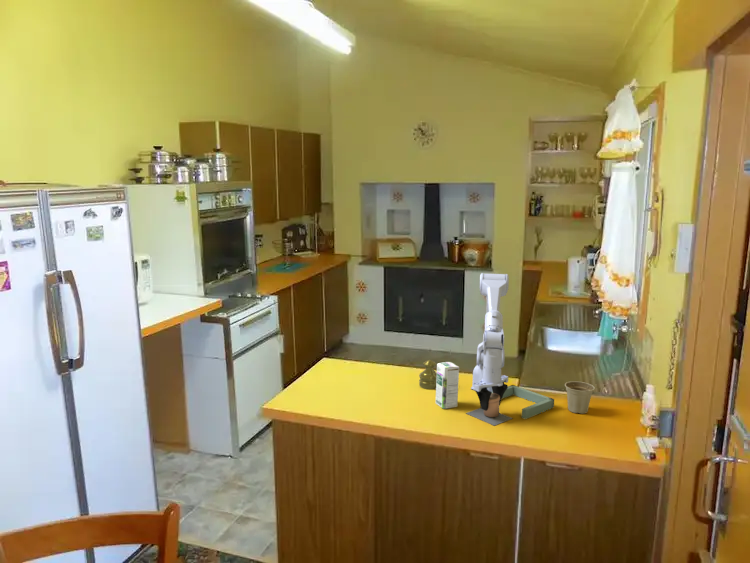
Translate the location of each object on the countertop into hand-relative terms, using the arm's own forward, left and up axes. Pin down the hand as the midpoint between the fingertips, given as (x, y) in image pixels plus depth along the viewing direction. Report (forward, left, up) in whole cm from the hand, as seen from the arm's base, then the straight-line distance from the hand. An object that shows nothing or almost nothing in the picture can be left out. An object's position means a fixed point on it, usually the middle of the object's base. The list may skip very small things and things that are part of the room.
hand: (490, 407), depth 185 cm
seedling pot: (0, 0, -2) cm, 2 cm away
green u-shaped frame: (0, +15, -3) cm, 15 cm away
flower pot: (+15, +27, -3) cm, 31 cm away
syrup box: (-15, -5, -3) cm, 16 cm away
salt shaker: (-32, +3, -3) cm, 32 cm away
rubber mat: (0, -1, -3) cm, 3 cm away
